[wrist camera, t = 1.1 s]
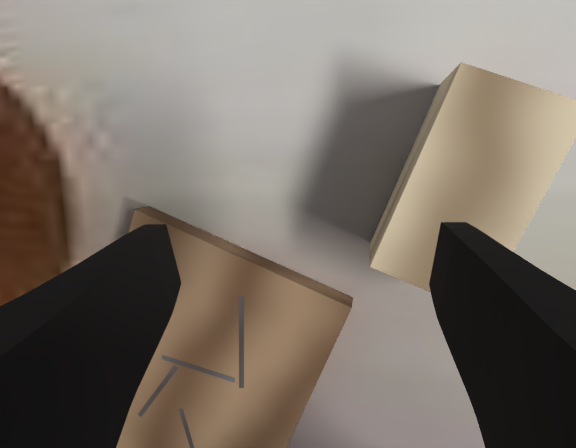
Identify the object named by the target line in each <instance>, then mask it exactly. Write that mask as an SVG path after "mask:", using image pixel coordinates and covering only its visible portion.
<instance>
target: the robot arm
mask: <svg viewBox="0 0 576 448" xmlns="http://www.w3.org/2000/svg"><path fill="white" fill-rule="evenodd" d="M180 286H181V279H180V275H179V271H178V268H177V264H176V260H175V256H174V252H173V248H172V244H171V240H170V236H169V233H168V229H167V225H166V224H145V225H143V226H140V227H138V228H137V229H135V230H133V231H131V232H129V233H128V234H126V235H124V236H123V237H121V238H119V239H118V240H116V241H114V242H113V243H111V244H110V245H108V246H106V247H105V248H103V249H101V250H100V251H98V252H97V253H95V254H93V255H92V256H90V257H89V258H87V259H85V260H84V261H82V262H80V263H79V264H77V265H75V266H74V267H72V268H70V269H68V270H67V271H65V272H63V273H61V274H60V275H58V276H56V277H54V278H53V279H51V280H49V281H48V282H46V283H44V284H42V285H41V286H39V287H37V288H35V289H33V290H31V291H30V292H28V293H26V294H24V295H22V296H20V297H18V298H16V299H14V300H12V301H10V302H8V303H6V304H4V305H2V306H0V448H116V447H117V444H118V441H119V438H120V435H121V432H122V429H123V426H124V424H125V421H126V418H127V415H128V412H129V409H130V406H131V404H132V402H133V399H134V397H135V394H136V392H137V390H138V387H139V385H140V383H141V381H142V379H143V377H144V375H145V372H146V370H147V368H148V366H149V364H150V362H151V360H152V357H153V355H154V353H155V351H156V349H157V347H158V345H159V343H160V340H161V338H162V336H163V334H164V332H165V329H166V327H167V325H168V323H169V321H170V318H171V316H172V313H173V310H174V307H175V304H176V301H177V297H178V294H179V290H180ZM429 287H430V291H431V295H432V299H433V304H434V307H435V311H436V315H437V319H438V321H439V324H440V326H441V329H442V331H443V334H444V336H445V339H446V342H447V344H448V347H449V349H450V351H451V354H452V356H453V359H454V361H455V364H456V366H457V369H458V371H459V373H460V376H461V378H462V381H463V383H464V386H465V388H466V391H467V393H468V396H469V398H470V401H471V403H472V406H473V409H474V412H475V415H476V417H477V420H478V424H479V427H480V431H481V434H482V437H483V441H484V444H485V448H576V290H574V289H572V288H571V287H569V286H567V285H565V284H564V283H562V282H560V281H558V280H557V279H555V278H553V277H552V276H550V275H549V274H547V273H545V272H544V271H542V270H540V269H539V268H537V267H536V266H534V265H532V264H531V263H529V262H528V261H526V260H525V259H523V258H522V257H520V256H518V255H517V254H515V253H514V252H512V251H511V250H509V249H508V248H506V247H505V246H503V245H502V244H500V243H499V242H497V241H496V240H494V239H493V238H491V237H490V236H488V235H487V234H485V233H484V232H482V231H480V230H479V229H477V228H476V227H474V226H472V225H470V224H469V223H467V222H441V224H440V230H439V235H438V240H437V245H436V250H435V256H434V261H433V266H432V271H431V277H430V282H429Z"/></svg>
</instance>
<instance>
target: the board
mask: <svg viewBox="0 0 576 448" xmlns="http://www.w3.org/2000/svg"><path fill="white" fill-rule="evenodd" d="M145 224H166V225H167V229H168V233H169V236H170V240H171V244H172V248H173V252H174V256H175V260H176V264H177V268H178V271H179V275H180V279H181V286H180V290H179V294H178V297H177V301H176V304H175V307H174V310H173V313H172V316H171V318H170V321H169V323H168V325H167V327H166V329H165V332H164V334H163V336H162V338H161V340H160V343H159V345H158V347H157V349H156V351H155V353H154V355H153V357H152V360H151V362H150V364H149V366H148V368H147V370H146V372H145V375H144V377H143V379H142V381H141V383H140V385H139V387H138V390H137V392H136V394H135V397H134V399H133V402H132V404H131V406H130V409H129V412H128V415H127V418H126V421H125V424H124V426H123V429H122V432H121V435H120V438H119V441H118V444H117V447H116V448H286V447H287V445H288V443H289V441H290V439H291V436H292V434H293V432H294V430H295V428H296V426H297V424H298V421H299V419H300V417H301V415H302V413H303V411H304V409H305V406H306V404H307V402H308V400H309V398H310V396H311V394H312V392H313V389H314V387H315V385H316V383H317V381H318V379H319V377H320V374H321V372H322V370H323V368H324V366H325V364H326V362H327V359H328V357H329V355H330V353H331V351H332V349H333V347H334V344H335V342H336V340H337V338H338V336H339V334H340V332H341V329H342V327H343V325H344V323H345V321H346V319H347V317H348V315H349V312H350V310H351V308H352V301H353V298H352V297H350V296H348V295H346V294H343V293H341V292H339V291H337V290H334V289H332V288H330V287H328V286H326V285H323V284H321V283H319V282H317V281H314V280H312V279H310V278H308V277H305V276H303V275H301V274H299V273H297V272H294V271H292V270H290V269H288V268H285V267H283V266H281V265H279V264H276V263H274V262H272V261H270V260H267V259H265V258H263V257H261V256H259V255H256V254H254V253H252V252H250V251H247V250H245V249H243V248H241V247H238V246H236V245H234V244H232V243H230V242H227V241H225V240H223V239H221V238H218V237H216V236H214V235H212V234H209V233H207V232H205V231H203V230H200V229H198V228H196V227H194V226H192V225H189V224H187V223H185V222H183V221H180V220H178V219H176V218H174V217H171V216H169V215H167V214H165V213H163V212H160V211H158V210H156V209H154V208H151V207H149V206H148V207H144V208H140V209H136V210H134V214H133V217H132V221H131V225H130V228H129V232H131V231H133V230H135V229H137V228H138V227H140V226H143V225H145ZM129 232H128V233H129Z"/></svg>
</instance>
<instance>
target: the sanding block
mask: <svg viewBox="0 0 576 448" xmlns="http://www.w3.org/2000/svg"><path fill="white" fill-rule="evenodd" d="M575 139H576V100H575V99H572V98H568V97H565V96H562V95H559V94H556V93H553V92H550V91H547V90H544V89H541V88H538V87H535V86H532V85H529V84H526V83H523V82H520V81H517V80H514V79H510V78H507V77H504V76H501V75H498V74H495V73H492V72H489V71H486V70H483V69H480V68H477V67H474V66H471V65H468V64H465V63H462V62H461V63H460V64H459V65H458V66H457V67H456V68H455V69H454V70H453V71H452V72H451V74H450V75H449V76H448V77H447V78H446V79H445V80H444V81H443V82H442V83H441V84H440V85H439V87H438V89H437V91H436V94H435V96H434V98H433V101H432V103H431V105H430V107H429V110H428V112H427V114H426V116H425V119H424V121H423V123H422V126H421V128H420V130H419V132H418V135H417V137H416V139H415V141H414V144H413V146H412V148H411V151H410V153H409V155H408V157H407V160H406V162H405V164H404V166H403V169H402V171H401V173H400V176H399V178H398V180H397V182H396V185H395V187H394V189H393V191H392V194H391V196H390V198H389V201H388V203H387V205H386V207H385V210H384V212H383V214H382V216H381V219H380V221H379V223H378V226H377V228H376V230H375V232H374V235H373V237H372V239H371V242H370V267H372V268H374V269H376V270H379V271H381V272H384V273H386V274H388V275H391V276H393V277H395V278H398V279H400V280H403V281H405V282H407V283H410V284H412V285H415V286H417V287H419V288H422V289H424V290H427V291H429V292H431V291H430V287H429V282H430V277H431V271H432V266H433V261H434V256H435V250H436V245H437V240H438V235H439V230H440V224H441V222H467V223H469V224H470V225H472V226H474V227H476V228H477V229H479V230H480V231H482V232H484V233H485V234H487V235H488V236H490V237H491V238H493V239H494V240H496V241H497V242H499V243H500V244H502V245H503V246H505V247H506V248H508V249H509V250H511V251H512V252H514V250H515V248H516V247H517V245H518V243H519V241H520V239H521V237H522V236H523V234H524V232H525V230H526V228H527V226H528V225H529V223H530V221H531V219H532V217H533V216H534V214H535V212H536V210H537V208H538V206H539V205H540V203H541V201H542V199H543V197H544V195H545V194H546V192H547V190H548V188H549V186H550V185H551V183H552V181H553V179H554V177H555V175H556V174H557V172H558V170H559V168H560V166H561V164H562V163H563V161H564V159H565V157H566V155H567V154H568V152H569V150H570V148H571V146H572V144H573V143H574V141H575Z"/></svg>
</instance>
